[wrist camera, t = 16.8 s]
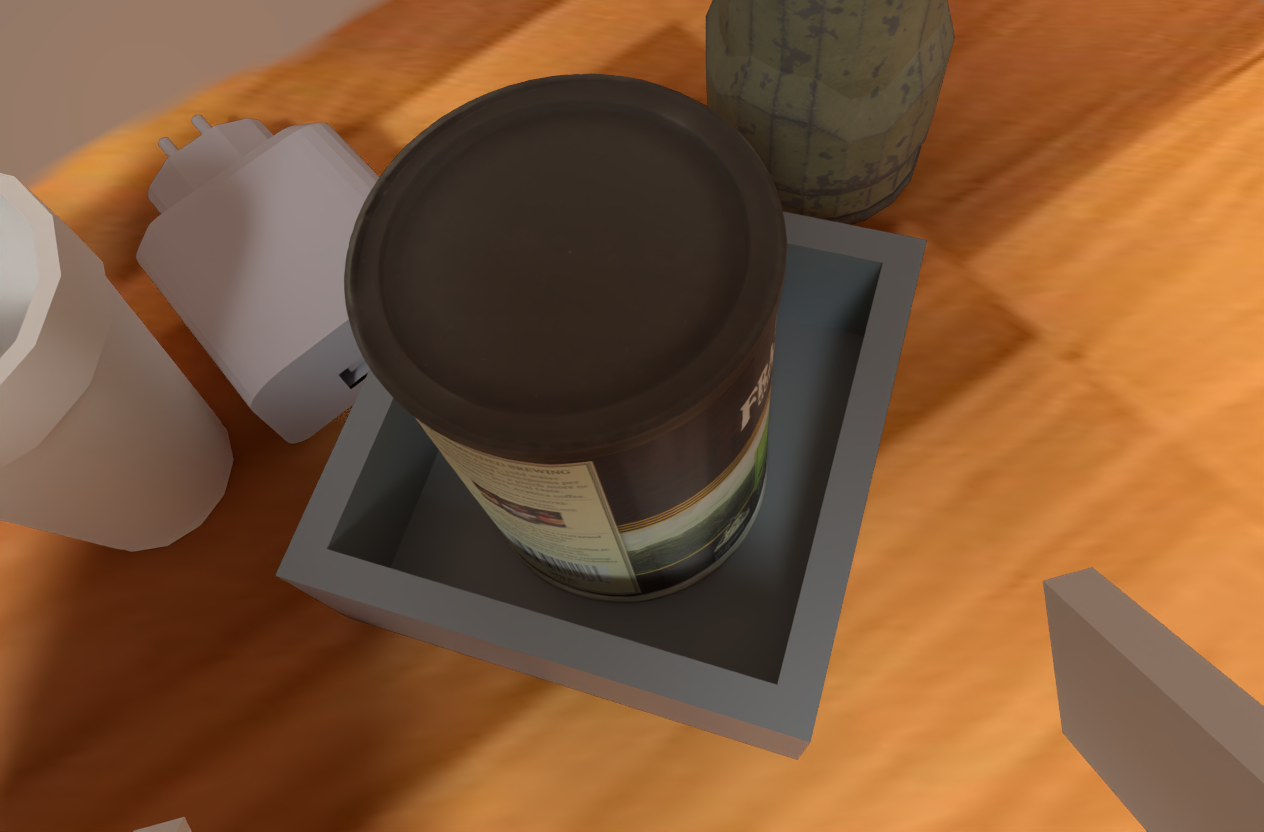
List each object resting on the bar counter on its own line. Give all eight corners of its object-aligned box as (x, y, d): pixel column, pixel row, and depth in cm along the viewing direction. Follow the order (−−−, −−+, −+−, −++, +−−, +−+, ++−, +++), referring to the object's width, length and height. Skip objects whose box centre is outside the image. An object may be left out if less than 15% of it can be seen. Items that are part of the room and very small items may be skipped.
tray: (347, 617, 35) (275, 575, 29) (505, 242, 41) (470, 149, 35) (797, 759, 31) (810, 741, 26) (898, 328, 37) (927, 239, 32)
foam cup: (217, 326, 40) (2, 112, 29) (311, 498, 37) (110, 334, 25) (7, 450, 39) (-312, 278, 27) (83, 640, 35) (-245, 539, 24)
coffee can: (751, 324, 37) (760, 46, 24) (784, 591, 33) (817, 428, 20) (485, 350, 37) (354, 94, 25) (484, 615, 33) (325, 472, 20)
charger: (290, 107, 45) (481, 308, 40) (121, 225, 43) (298, 452, 38) (242, 30, 41) (450, 243, 35) (53, 156, 39) (241, 401, 34)
